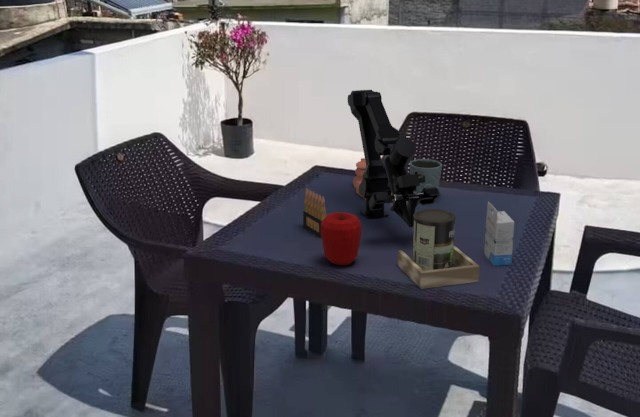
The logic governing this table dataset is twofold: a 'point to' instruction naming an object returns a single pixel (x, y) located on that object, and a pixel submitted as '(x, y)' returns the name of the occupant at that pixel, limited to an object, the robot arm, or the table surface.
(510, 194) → the table surface
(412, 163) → the green cup
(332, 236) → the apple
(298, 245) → the table surface
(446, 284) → the corral
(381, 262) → the table surface
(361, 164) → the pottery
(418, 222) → the coffee can
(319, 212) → the ammunition clip
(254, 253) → the table surface
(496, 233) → the ink box
